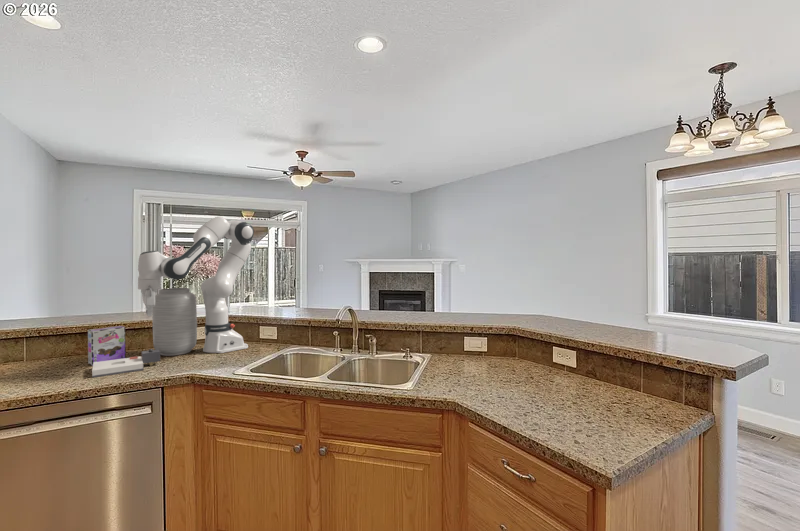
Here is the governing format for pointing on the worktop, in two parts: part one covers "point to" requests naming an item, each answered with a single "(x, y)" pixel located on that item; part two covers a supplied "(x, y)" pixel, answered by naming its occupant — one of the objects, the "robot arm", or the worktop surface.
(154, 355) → the plug
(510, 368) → the worktop surface
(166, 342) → the vase
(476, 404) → the worktop surface
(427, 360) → the worktop surface
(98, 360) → the candy box
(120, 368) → the socket
